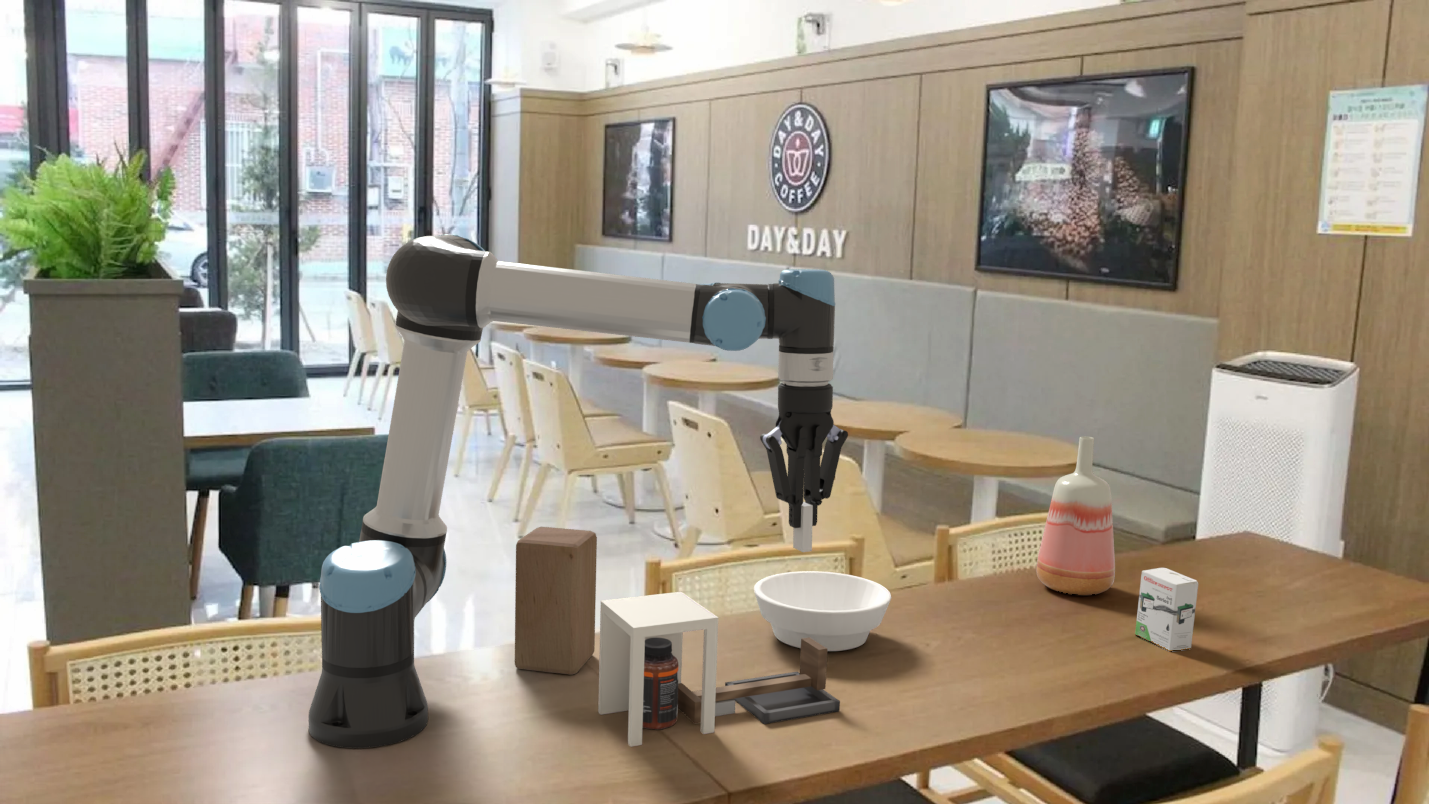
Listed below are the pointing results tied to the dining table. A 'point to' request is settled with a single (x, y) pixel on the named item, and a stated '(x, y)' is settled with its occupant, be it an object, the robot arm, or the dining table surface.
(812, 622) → the bowl
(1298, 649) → the dining table surface
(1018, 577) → the dining table surface
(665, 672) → the supplement bottle
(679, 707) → the wooden dumbbell-shaped bar
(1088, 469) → the vase
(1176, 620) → the ink box
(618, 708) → the tunnel
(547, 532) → the wooden block
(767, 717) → the grey shallow square tray
